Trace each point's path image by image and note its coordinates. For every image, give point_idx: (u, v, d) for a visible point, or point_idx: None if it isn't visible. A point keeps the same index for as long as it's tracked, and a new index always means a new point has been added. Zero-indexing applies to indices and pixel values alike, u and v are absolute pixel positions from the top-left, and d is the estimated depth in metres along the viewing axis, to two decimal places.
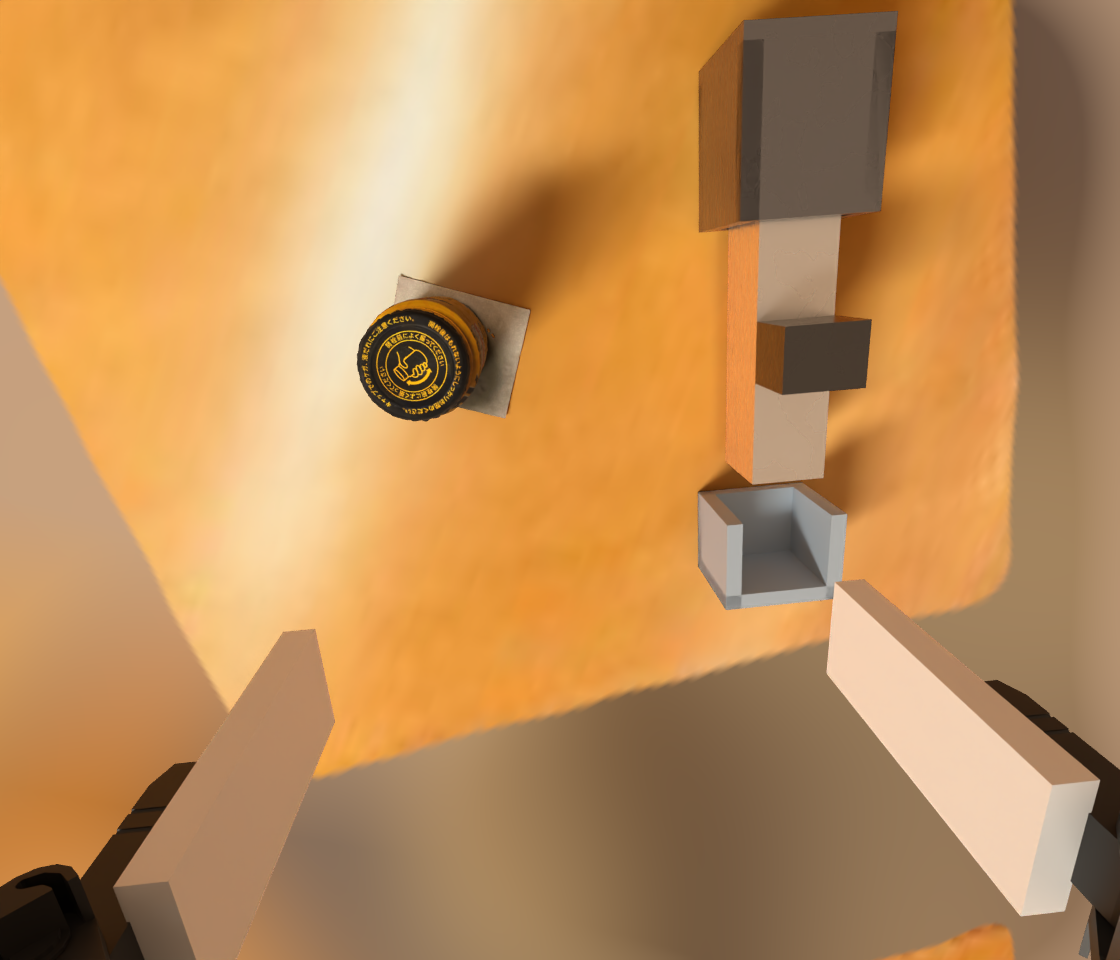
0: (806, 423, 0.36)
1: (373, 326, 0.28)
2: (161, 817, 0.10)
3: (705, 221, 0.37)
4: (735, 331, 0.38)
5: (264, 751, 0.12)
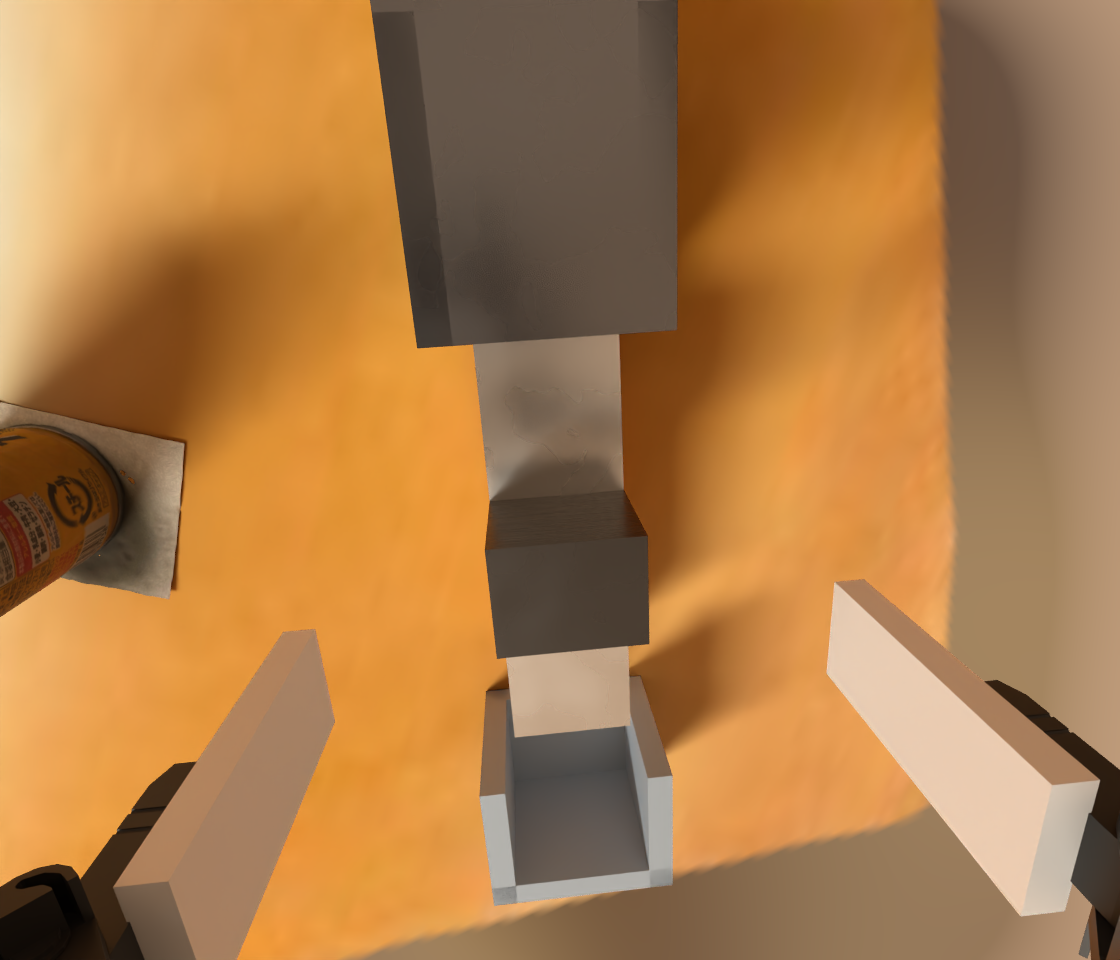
0: (593, 650, 0.22)
1: None
2: (161, 817, 0.10)
3: None
4: None
5: (264, 751, 0.12)
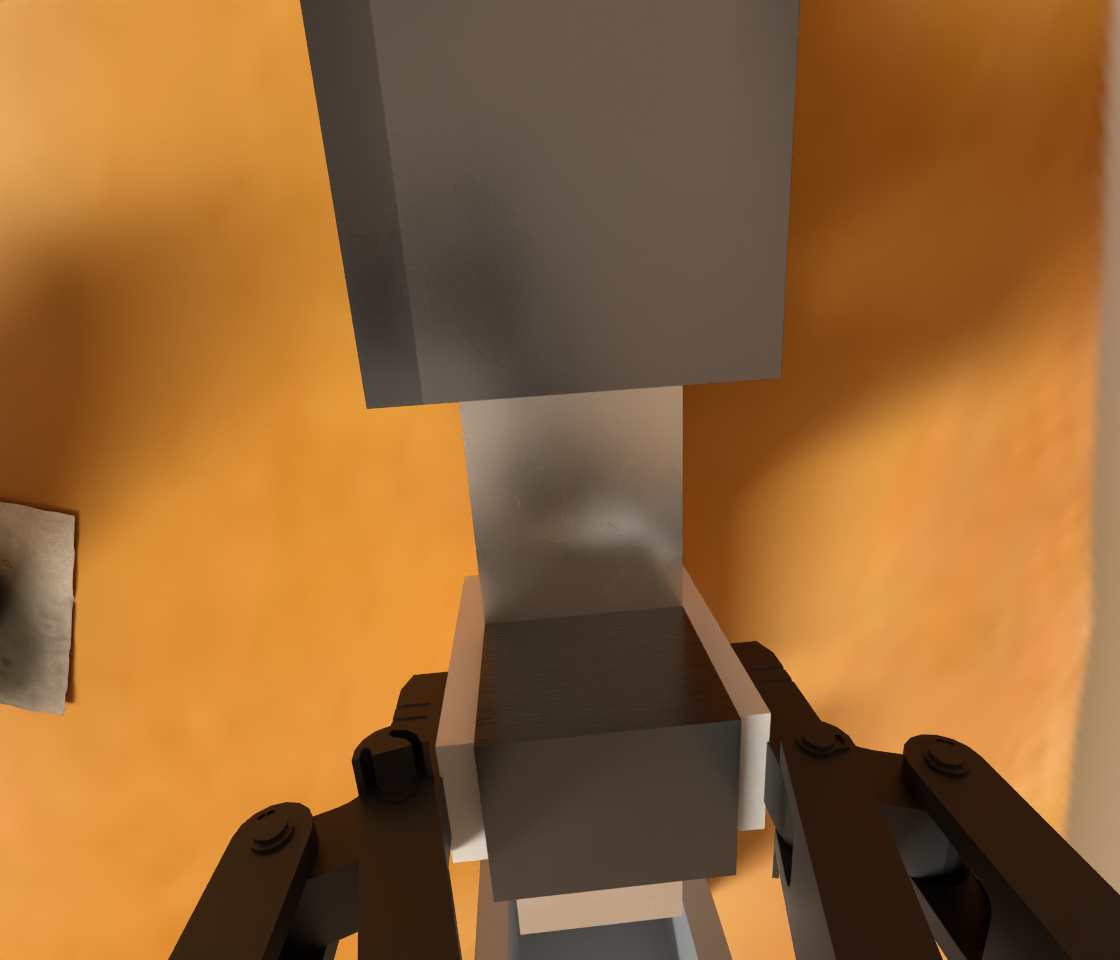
0: None
1: None
2: (444, 703, 0.12)
3: None
4: None
5: None
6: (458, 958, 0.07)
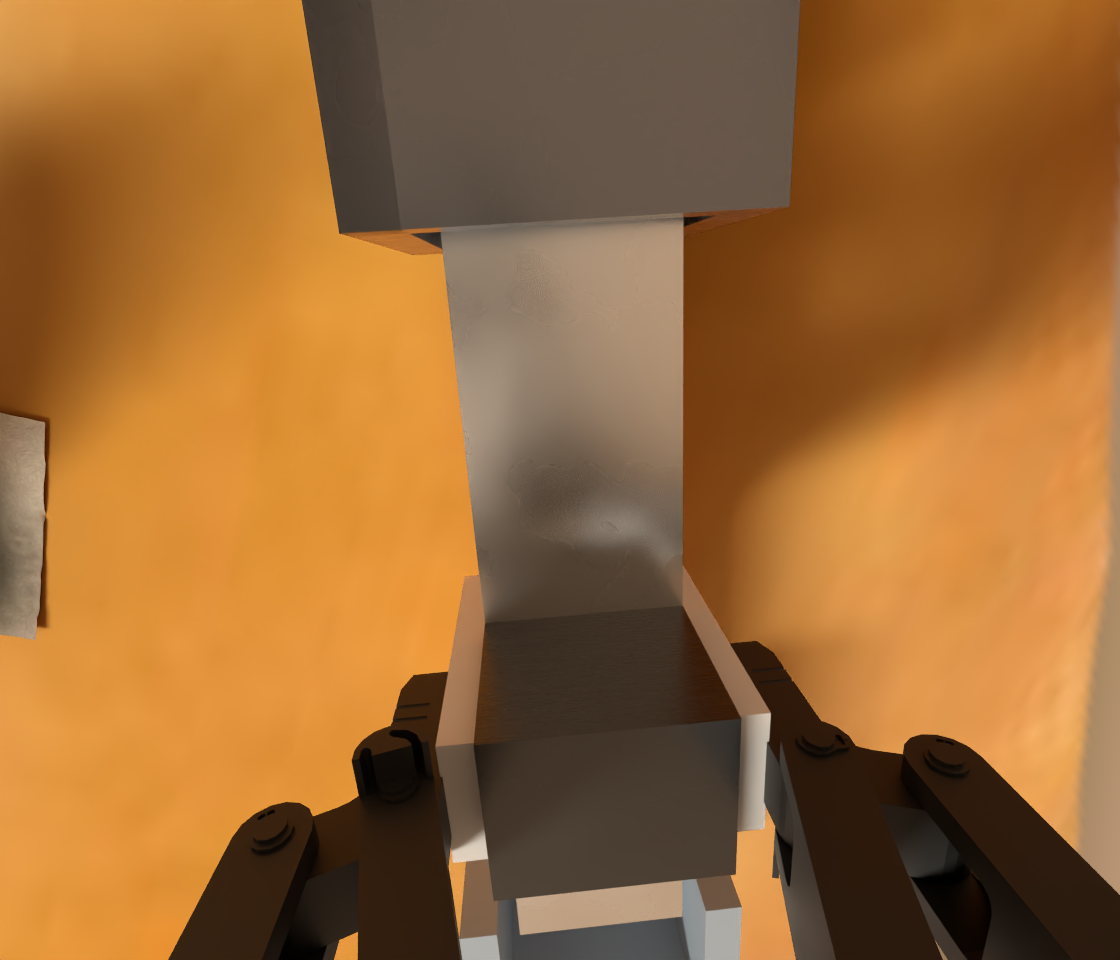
0: None
1: None
2: (444, 703, 0.12)
3: None
4: None
5: None
6: (458, 958, 0.07)
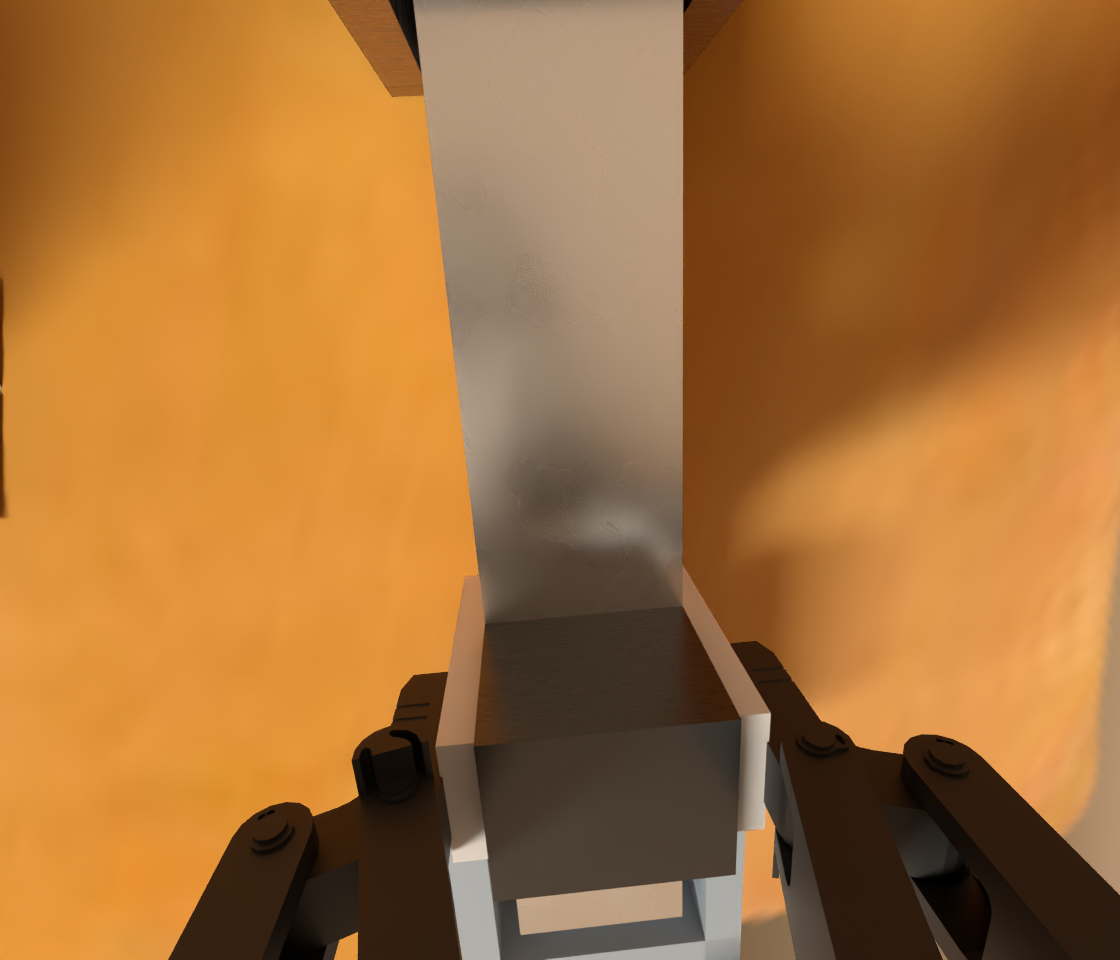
0: None
1: None
2: (444, 703, 0.12)
3: None
4: None
5: None
6: (458, 958, 0.07)
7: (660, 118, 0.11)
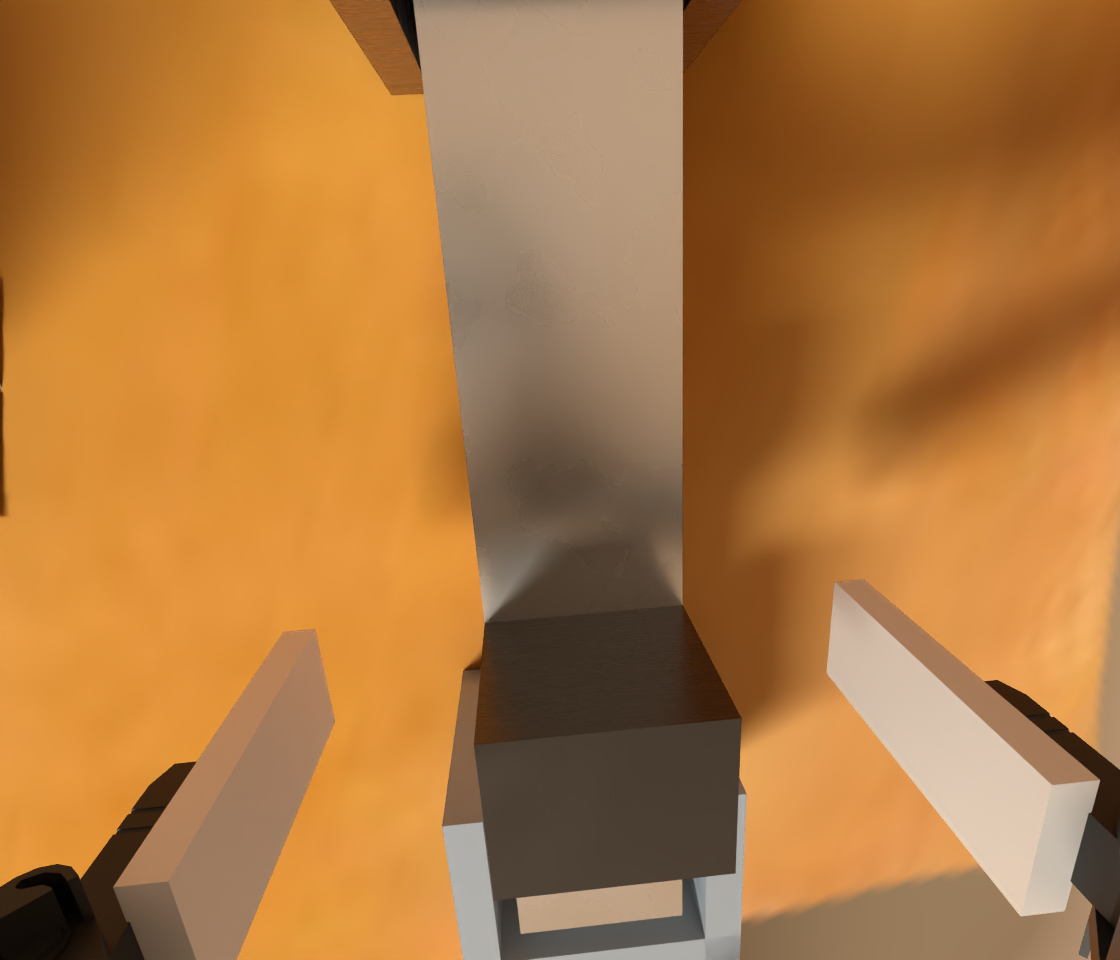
0: None
1: None
2: (161, 817, 0.10)
3: None
4: None
5: (265, 751, 0.12)
6: None
7: (660, 118, 0.11)
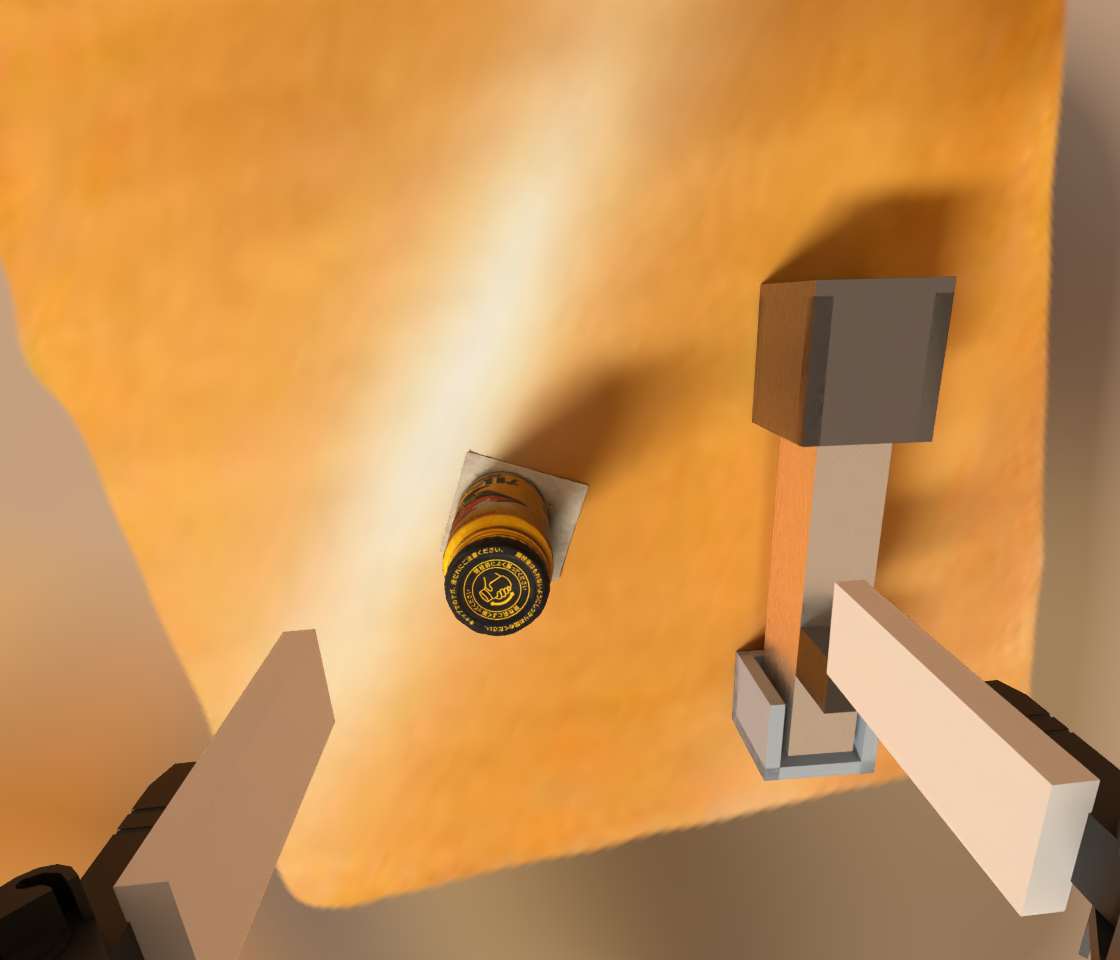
0: None
1: (464, 554, 0.29)
2: (161, 817, 0.10)
3: (760, 417, 0.39)
4: (776, 612, 0.42)
5: (264, 751, 0.12)
6: None
7: (881, 474, 0.36)
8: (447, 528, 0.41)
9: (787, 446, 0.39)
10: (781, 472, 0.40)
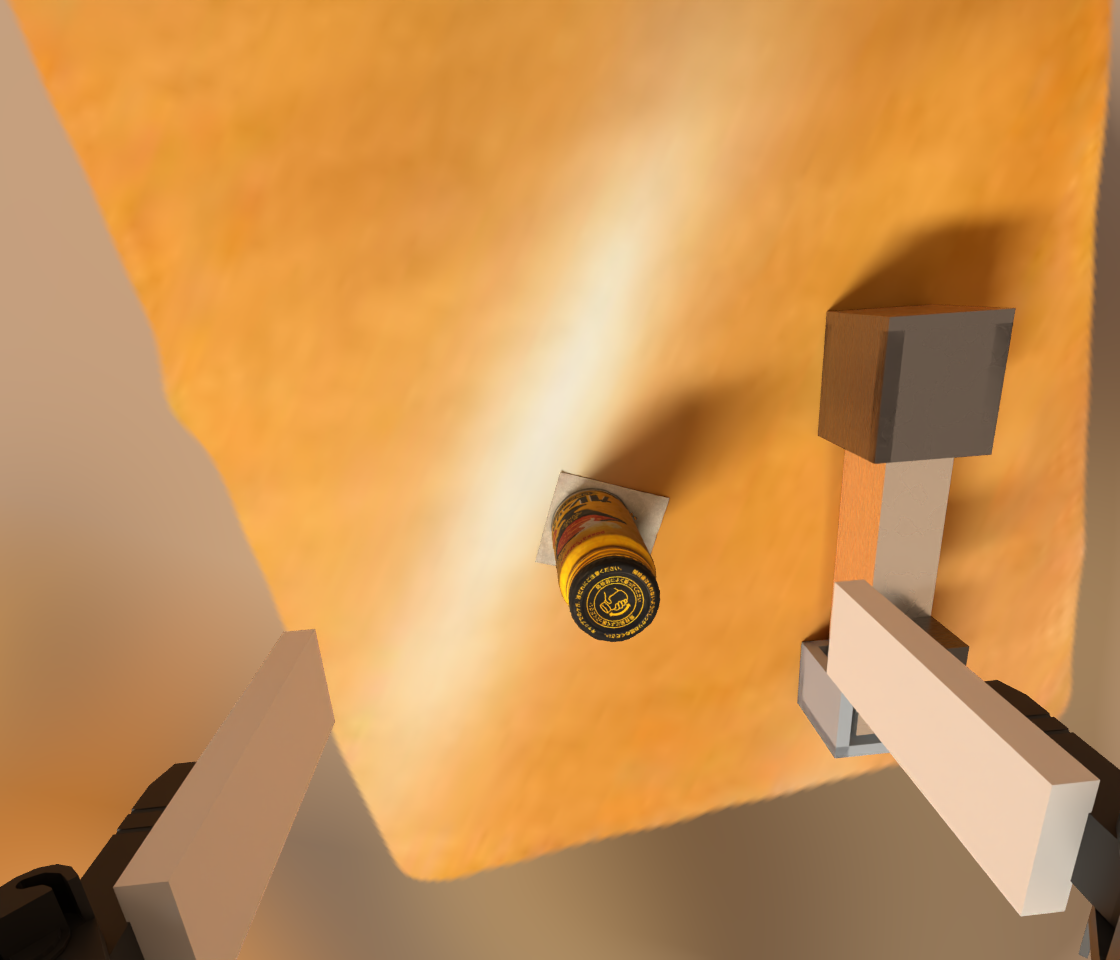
0: None
1: (587, 573, 0.34)
2: (161, 817, 0.10)
3: (827, 432, 0.43)
4: None
5: (265, 751, 0.12)
6: None
7: (944, 484, 0.40)
8: (542, 540, 0.45)
9: (852, 458, 0.43)
10: (846, 481, 0.44)
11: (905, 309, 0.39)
